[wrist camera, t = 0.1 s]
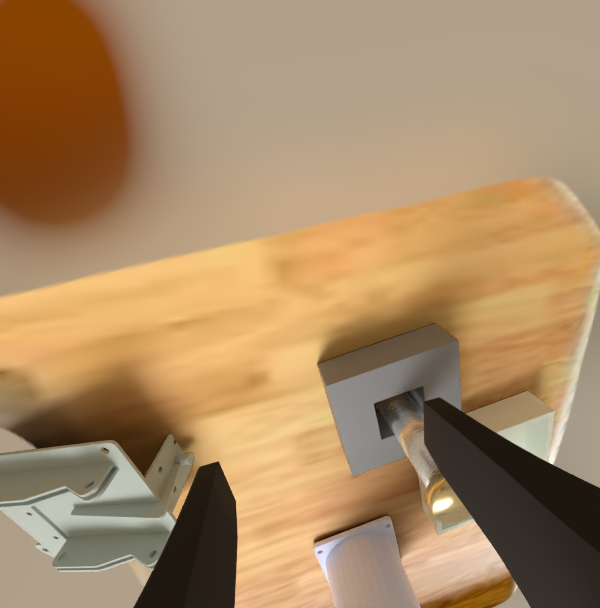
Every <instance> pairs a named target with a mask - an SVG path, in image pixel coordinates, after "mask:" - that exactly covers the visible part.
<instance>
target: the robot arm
mask: <svg viewBox="0 0 600 608" xmlns="http://www.w3.org/2000/svg"><path fill="white" fill-rule="evenodd" d="M423 413H424V444H425V446H426V448H427V450H428V451H429V453H430V455H431V457H432V459H433V460H434V462H435V464H436V465H437V467H438V469H439V471H440V472H441V474H442V475H443V477H444V478H445V480H446V481H447V482H448V484H449V485H450V487H451V488H452V489H453V491H454V492H455V494H456V495H457V497H458V498H459V499H460V501H461V502H462V503H463V505H464V506H465V508H466V509H467V510H468V512H469V513H470V515H471V516H472V517H473V519H474V520H475V522H476V523H477V524H478V526H479V527H480V529H481V530H482V531H483V533H484V534H485V536H486V537H487V538H488V540H489V541H490V543H491V544H492V546H493V547H494V549H495V550H496V552H497V553H498V555H499V556H500V557H501V559H502V561H503V562H504V564H505V566H506V567H507V569H508V570H509V572H510V574H511V575H512V577H513V579H514V580H515V582H516V584H517V585H518V587H519V589H520V590H521V592H522V593H523V595H524V596H525V598H526V600H527V602H528V603H529V605H530V607H531V608H600V488H599V487H596V486H594V485H592V484H590V483H588V482H586V481H584V480H582V479H580V478H578V477H576V476H574V475H572V474H570V473H568V472H566V471H564V470H562V469H560V468H558V467H556V466H554V465H552V464H550V463H548V462H546V461H545V460H543V459H541V458H539V457H537V456H535V455H534V454H532V453H530V452H528V451H526V450H525V449H523V448H521V447H519V446H518V445H516V444H514V443H512V442H511V441H509V440H507V439H506V438H504V437H502V436H501V435H499V434H497V433H496V432H494V431H492V430H491V429H489V428H488V427H486V426H484V425H483V424H481V423H480V422H478V421H476V420H475V419H473V418H472V417H470V416H468V415H467V414H465V413H464V412H462V411H461V410H459V409H457V408H456V407H454V406H453V405H451V404H450V403H448V402H446V401H445V400H443V399H442V398H440V397H438V398H435V399H431V400H428V401H424V402H423ZM237 538H238V536H237V515H236V500H235V498H234V496H233V494H232V491H231V489H230V487H229V484H228V482H227V480H226V477H225V475H224V473H223V470H222V468H221V466H220V463H219V461H218V462H215V463H211V464H208V465H205V466H201V467H200V468H199V469H198V471H197V473H196V476H195V478H194V481H193V483H192V486H191V488H190V491H189V493H188V495H187V498H186V500H185V502H184V505H183V507H182V509H181V512H180V514H179V516H178V519H177V521H176V523H175V525H174V527H173V529H172V532H171V534H170V536H169V538H168V540H167V543H166V545H165V547H164V549H163V551H162V553H161V555H160V557H159V559H158V561H157V563H156V565H155V567H154V569H153V571H152V573H151V575H150V577H149V579H148V581H147V583H146V585H145V587H144V589H143V591H142V593H141V595H140V596H139V598H138V600H137V602H136V604H135V606H134V608H234V605H235V584H236V562H237ZM313 549H314V552H315V554H316V556H317V559H318V561H319V563H320V565H321V567H322V569H323V572H324V574H325V576H326V578H327V580H328V582H329V585H330V588H331V592H332V597H333V602H334V606H335V608H421V607H420V605H419V603H418V600H417V598H416V596H415V593H414V591H413V588H412V586H411V584H410V581H409V579H408V577H407V574H406V572H405V569H404V567H403V565H402V562H401V558H400V553H399V549H398V545H397V541H396V536H395V532H394V528H393V524H392V520H391V518H390V517H389V516H384V517H382V518H379V519H376V520H374V521H371V522H369V523H366V524H363V525H361V526H358V527H355V528H353V529H350V530H348V531H345V532H342V533H340V534H337V535H334V536H332V537H329V538H327V539H324V540H321V541H319V542H316V543H315V544H314V545H313Z"/></svg>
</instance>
